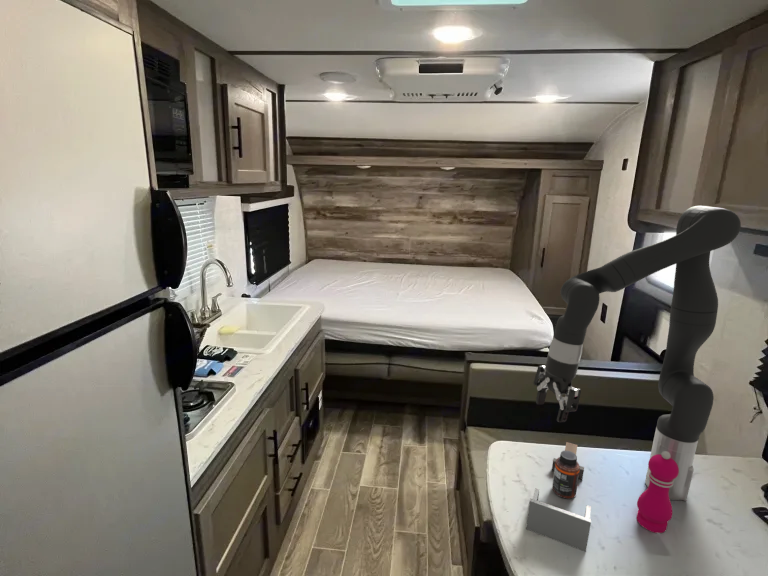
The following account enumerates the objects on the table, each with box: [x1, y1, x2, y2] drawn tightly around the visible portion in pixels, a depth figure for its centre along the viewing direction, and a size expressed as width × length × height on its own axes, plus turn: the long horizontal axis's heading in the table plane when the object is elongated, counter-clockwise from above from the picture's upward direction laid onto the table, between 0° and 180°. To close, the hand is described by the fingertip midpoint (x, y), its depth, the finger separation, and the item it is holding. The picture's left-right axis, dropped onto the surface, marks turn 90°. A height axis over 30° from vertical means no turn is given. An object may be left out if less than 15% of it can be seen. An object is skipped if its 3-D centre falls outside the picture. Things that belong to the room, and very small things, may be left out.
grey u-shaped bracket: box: [525, 488, 592, 552], centre depth 102 cm, size 13×11×8 cm
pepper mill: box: [636, 451, 679, 534], centre depth 102 cm, size 7×7×20 cm
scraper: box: [551, 441, 585, 482], centre depth 123 cm, size 8×8×6 cm
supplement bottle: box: [552, 450, 581, 499], centre depth 113 cm, size 6×6×11 cm
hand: (549, 412), depth 113 cm, fingers open, 8 cm apart
